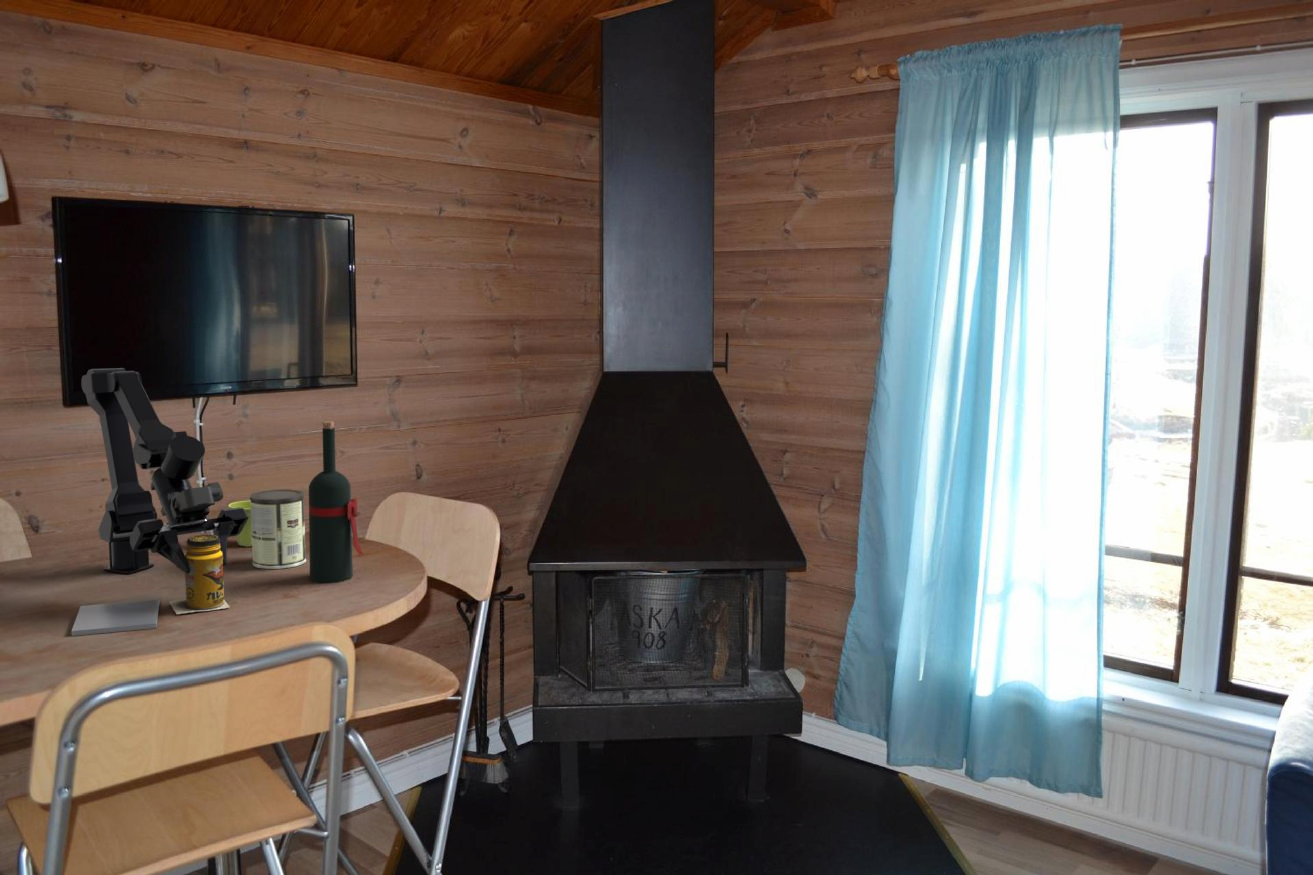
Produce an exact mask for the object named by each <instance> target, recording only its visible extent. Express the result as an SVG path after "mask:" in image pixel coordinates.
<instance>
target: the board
mask: <svg viewBox="0 0 1313 875" xmlns="http://www.w3.org/2000/svg"><path fill="white" fill-rule="evenodd" d="M159 610H160V599H148V600H136V601H125V602H113V603H102V604H90V605H89V604H88V605H80V606H79V610H78V612H77V615H76V618H75V620H74V623H73V626H72V628H71V637H75V636H84V635H85V636H86V635H97V634H107V633H117V632H118V633H119V632H130V631H138V630H139V631H140V630H149V629H150V630H151V629H152V630H153V629H157V627H158V626H157V624H158V619H159Z"/></svg>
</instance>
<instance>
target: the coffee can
mask: <svg viewBox="0 0 1313 875" xmlns="http://www.w3.org/2000/svg"><path fill="white" fill-rule="evenodd" d="M305 494H306V493H305V492H304V491H302V490H298V489H291V488H290V489H288V488H283V489H278V488H277V489H267V490H261V491H256V492H253V493H250V495H249V501H251V527H252V546H251V548H252V549H251V550H252V565H253V567H255V568H258V569H263V570H267V569H268V570H279V569H280V570H282V569H289V568H295V567H299V566H301V565H304V564H305V563H306V562H307V558H306V553H307V552H306V529H305V528H306V524H305V520H306V519H305Z"/></svg>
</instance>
